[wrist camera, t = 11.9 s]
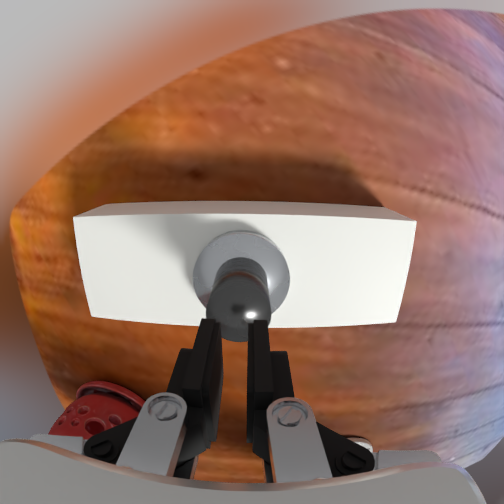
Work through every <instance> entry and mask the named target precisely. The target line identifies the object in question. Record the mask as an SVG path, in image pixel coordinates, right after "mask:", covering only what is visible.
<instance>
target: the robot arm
mask: <svg viewBox="0 0 504 504" xmlns="http://www.w3.org/2000/svg"><path fill="white" fill-rule="evenodd" d="M222 385H223V357H222V338H221V323H220V322H216V319H209V318H202V319H201V322H200V325H199V329H198V332H197V336H196V339H195V343H194V346H193V349H185V348H182V349H181V350H180V352H179V355H178V358H177V361H176V364H175V367H174V370H173V373H172V376H171V379H170V382H169V385H168V388H167V391H166V393H165V392H164V393H158V394H155V395H153V396H151V397H150V398H148V399H147V400H146V402H145V403H144V405H143V407H142V409H141V411H140V413H139V415H138V417H135V418H133V419H131V420H129V421H126V422H124V423H122V424H120V425H117V426H115V427H113V428H110V429H108V430H105V431H103V432H100V433H98V434H95V435H94V436H92V437H90V438H89V439H88V440H85V439H84V438H83V437H75V436H59V435H47V434H36V435H34V436H32V437H31V438H30V439H8V440H4V441H1V442H0V504H486V501H485V499H484V497H483V495H482V493H481V491H480V490H479V488H478V486H477V484H476V483H475V482H474V480H473V478H472V477H471V476H470V475H469V473H468V472H467V471H466V470H465V469H464V468H462V467H461V466H459V465H456V464H452V463H446V462H441V459H440V457H439V456H438V455H437V454H436V453H434V452H432V451H427V450H421V451H386V450H379V451H378V453H373V448H372V445H371V443H370V442H369V441H368V440H366V439H362V438H345V437H343V436H341V435H340V434H338V433H336V432H334V431H332V430H330V429H328V428H327V427H325V426H323V425H321V424H319V423H318V422H316V421H315V417H314V414H313V411H312V409H311V407H310V406H309V405H308V404H307V403H306V402H305V401H303V400H301V399H297V398H295V397H294V391H293V385H292V379H291V373H290V367H289V361H288V355H287V352H286V351H270V345H269V333H268V322H267V320H254V323H248V367H247V443H253V452H254V453H255V454H256V455H258V456H259V457H260V458H262V464H263V472H264V480H265V483H224V482H210V481H199V480H193V479H194V475H195V471H196V466H197V462H198V455H199V454H200V453H202V452H204V451H205V450H206V448H209V449H210V445H211V441H215V442H216V438H217V429H218V420H219V411H220V402H221V393H222Z"/></svg>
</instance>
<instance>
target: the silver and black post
mask: <svg viewBox="0 0 504 504" xmlns="http://www.w3.org/2000/svg"><path fill="white" fill-rule="evenodd" d="M193 285H194V289H195V293H196V295H197V297H198V299H199V300H200V302H201V303H202V305H203V306H204V307H205V308H206V318H209V319H216V322H220V323H221V337H222V338H224V339H226V340H229V341H234V342H245V341H248V323H254V320H267V322H268V326H269V324H270V321H271V314H272V313H274V312H275V311H276V310H277V309H278V308H279V307H280V306H281V304H282V303H283V301H284V300H285V298H286V296H287V294H288V290H289V286H290V273H289V268H288V265H287V262H286V259H285V257H284V254H283V253H282V251H281V250H280V248H279V247H278V246H277V245H276V244H275V243H274V242H273V241H272V240H270V239H269V238H268V237H266V236H264V235H262V234H260V233H257V232H253V231H249V230H234V231H229V232H226V233H223V234H221V235H219V236H217V237H215V238H214V239H212V240H211V241H210V242H209V243H208V244H207V245H206V246H205V247H204V248H203V250H202V251H201V253H200V255H199V257H198V259H197V261H196V263H195V266H194V270H193Z"/></svg>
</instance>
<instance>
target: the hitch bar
mask: <svg viewBox="0 0 504 504" xmlns="http://www.w3.org/2000/svg"><path fill="white" fill-rule="evenodd" d="M73 222H74V230H75V237H76V244H77V250H78V256H79V262H80V268H81V273H82V278H83V283H84V287H85V292H86V296H87V300H88V305H89V309H90V312H91V316H92V317H99V318H108V319H117V320H126V321H136V322H148V323H160V324H174V325H191V326H199V325H200V322H201V319H202V318H206V308H205V307H204V306H203V305H202V303H201V302H200V300H199V299H198V297H197V295H196V293H195V289H194V285H193V270H194V266H195V263H196V261H197V259H198V257H199V255H200V253H201V251H202V250H203V248H204V247H205V246H206V245H207V244H208V243H209V242H210V241H211V240H212V239H214V238H215V237H217V236H219V235H221V234H223V233H226V232H229V231H234V230H249V231H253V232H257V233H260V234H262V235H264V236H266V237H268V238H269V239H270V240H272V241H273V242H274V243H275V244H276V245H277V246H278V247H279V248H280V250H281V251H282V253H283V254H284V257H285V259H286V262H287V265H288V268H289V273H290V286H289V290H288V294H287V296H286V298H285V300H284V301H283V303H282V304H281V306H280V307H279V308H278V309H277V310H276V311H275V312H274V313H272V314H271V321H270V324H269V326H268V328H290V327H327V326H348V325H365V324H378V323H390V322H396V320H397V316H398V312H399V308H400V305H401V301H402V297H403V292H404V288H405V284H406V279H407V274H408V270H409V265H410V259H411V254H412V248H413V242H414V236H415V229H416V222H417V221H415V220H413V219H410V218H408V217H406V216H404V215H401V214H399V213H397V212H394V211H392V210H390V209H387V208H385V207H374V206H360V205H344V204H325V203H302V202H270V201H169V202H138V203H116V204H105V205H102V206H100V207H97V208H95V209H92V210H90V211H87V212H84V213H82V214H79V215H77V216H75V217H73Z"/></svg>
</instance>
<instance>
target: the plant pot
mask: <svg viewBox="0 0 504 504" xmlns="http://www.w3.org/2000/svg"><path fill="white" fill-rule="evenodd" d="M76 398H77V400H75V401H74V402H73V403H71V404H70V405H69V406H68V407H67V408H66V410H65V411H64V413H63V414H62V415H61V416H60V417H59V418H58V419H57V420H56V422H55V423H54V425H53V426H52V428H51V430H50V432H49V434H48V435H59V436H75V437H83V438H84V439H85V440H88V439H89V438H90V437H92V436H94V435H95V434H98V433H100V432H103V431H105V430H108V429H110V428H113V427H115V426H117V425H120V424H122V423H124V422H126V421H129V420H131V419H133V418H135V417H138V415H139V413H140V411H141V409H142V407H143V405H144V403H145V401H144V400H143V399H142V398H141V397H139V396H138V395H137V394H135V393H133V392H132V391H130V390H128V389H126V388H124V387H122V386H119V385H117V384H114V383H110V382H105V381H91V382H88V383H85V384H83V385H82V386H80V387H79V389H78V390H77V394H76Z"/></svg>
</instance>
